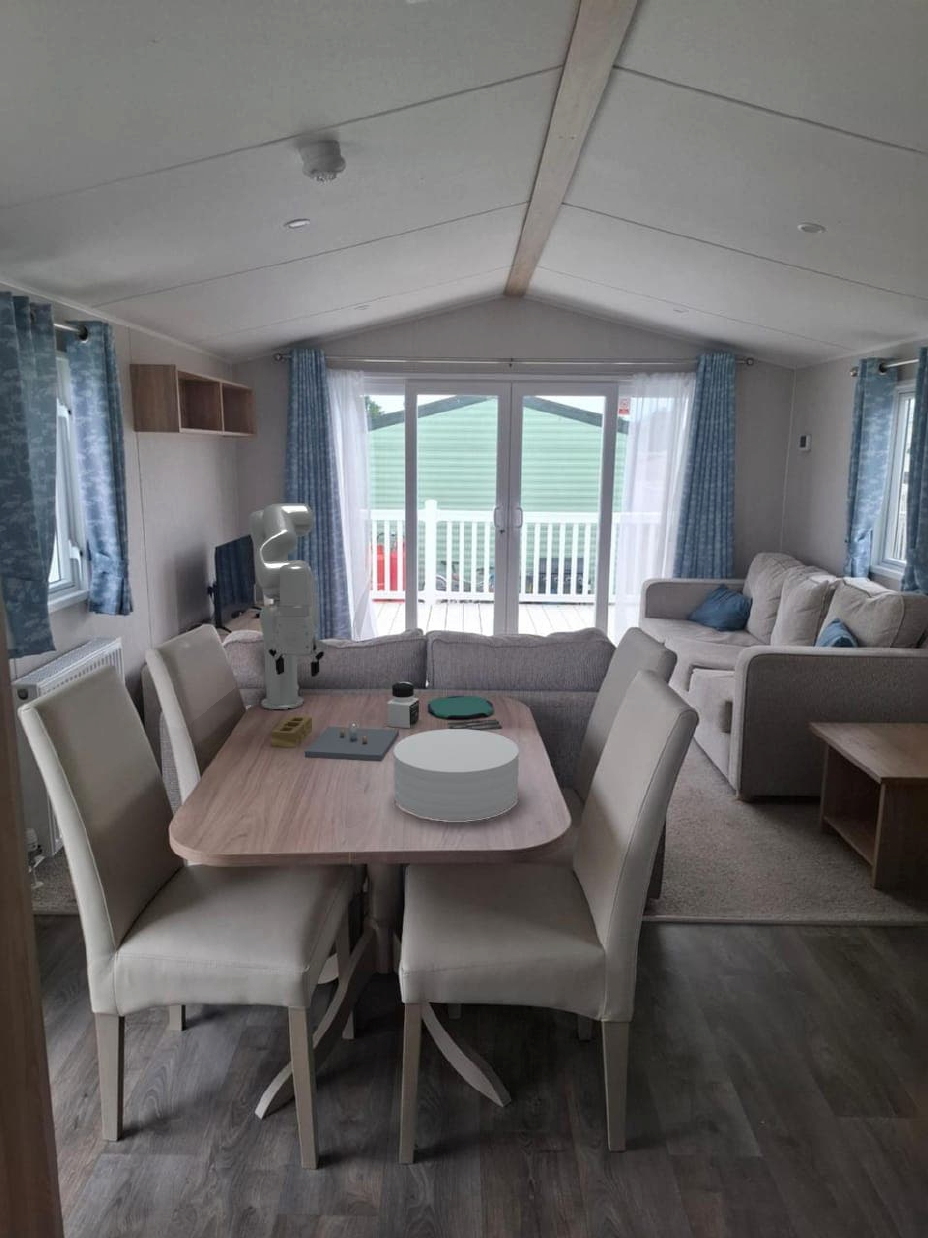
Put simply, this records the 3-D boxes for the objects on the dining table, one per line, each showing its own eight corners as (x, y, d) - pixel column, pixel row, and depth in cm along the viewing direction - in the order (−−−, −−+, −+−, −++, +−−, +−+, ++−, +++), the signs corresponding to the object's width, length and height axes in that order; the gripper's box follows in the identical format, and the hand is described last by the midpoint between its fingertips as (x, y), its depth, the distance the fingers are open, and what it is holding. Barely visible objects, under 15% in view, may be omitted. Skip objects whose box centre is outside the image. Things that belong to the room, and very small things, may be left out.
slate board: (328, 731, 235) (328, 726, 235) (398, 735, 233) (398, 730, 232) (305, 756, 216) (304, 751, 216) (381, 761, 213) (381, 755, 213)
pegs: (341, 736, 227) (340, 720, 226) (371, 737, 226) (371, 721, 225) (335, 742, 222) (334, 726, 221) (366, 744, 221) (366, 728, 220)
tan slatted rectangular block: (290, 729, 237) (289, 716, 236) (312, 730, 236) (311, 717, 235) (271, 746, 224) (271, 732, 223) (295, 747, 223) (294, 733, 222)
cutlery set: (484, 699, 267) (484, 692, 267) (509, 731, 239) (509, 723, 238) (422, 704, 263) (422, 697, 263) (440, 736, 235) (439, 728, 234)
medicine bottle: (410, 729, 238) (409, 688, 236) (386, 726, 240) (386, 685, 238) (419, 721, 245) (419, 681, 242) (396, 719, 247) (396, 679, 245)
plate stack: (368, 800, 190) (367, 751, 188) (449, 765, 211) (449, 721, 209) (464, 835, 172) (464, 782, 170) (542, 794, 193) (543, 746, 191)
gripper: (258, 612, 220) (261, 676, 223) (321, 615, 217) (323, 679, 220) (270, 607, 227) (273, 669, 230) (331, 610, 224) (333, 672, 227)
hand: (297, 674), depth 225 cm, fingers open, 9 cm apart
